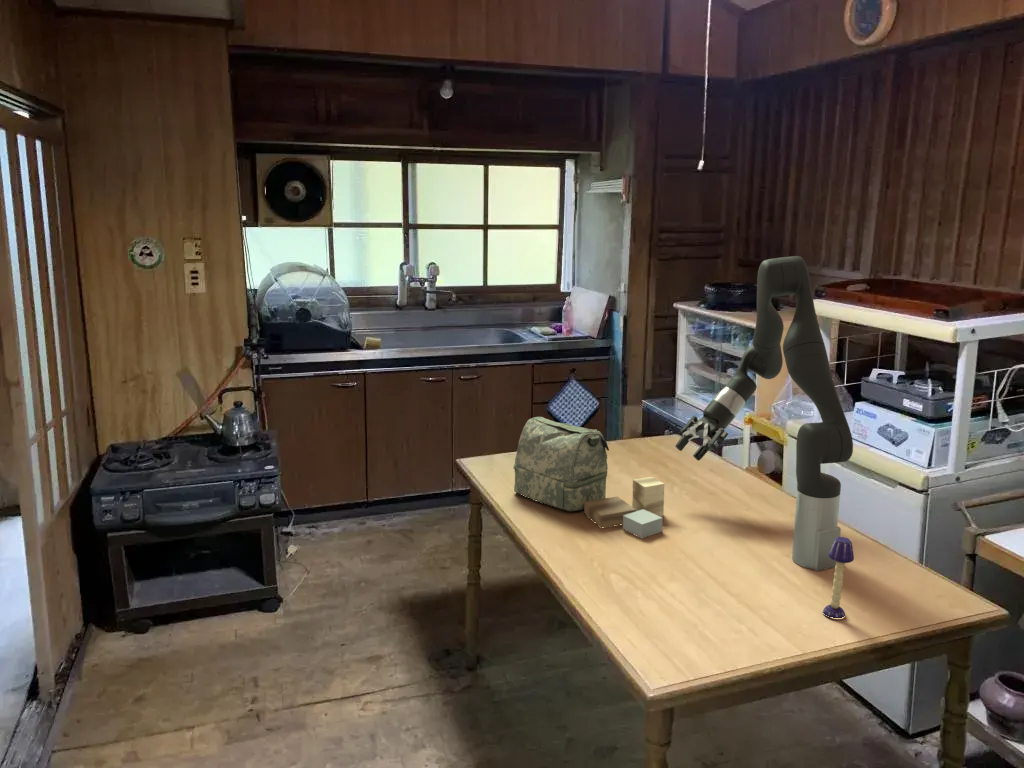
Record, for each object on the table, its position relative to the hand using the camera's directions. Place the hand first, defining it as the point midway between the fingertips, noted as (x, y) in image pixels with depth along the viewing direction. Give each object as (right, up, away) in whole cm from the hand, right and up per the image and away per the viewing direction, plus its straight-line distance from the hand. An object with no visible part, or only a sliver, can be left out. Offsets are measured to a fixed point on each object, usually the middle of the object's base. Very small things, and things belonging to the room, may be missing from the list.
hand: (686, 453), depth 215 cm
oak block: (-11, -16, -1) cm, 19 cm away
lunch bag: (-33, -14, +12) cm, 37 cm away
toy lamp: (+19, -28, -53) cm, 63 cm away
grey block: (-14, -19, -11) cm, 26 cm away
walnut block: (-21, -17, -4) cm, 28 cm away
